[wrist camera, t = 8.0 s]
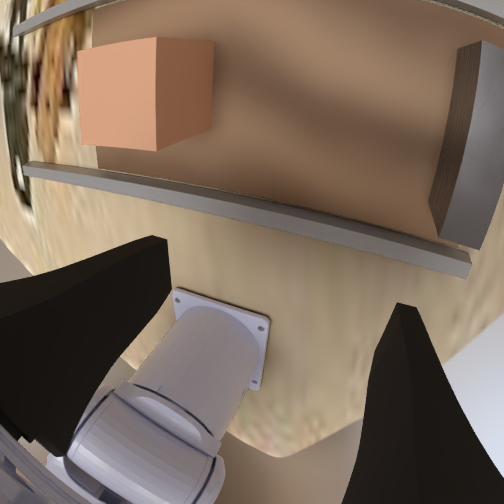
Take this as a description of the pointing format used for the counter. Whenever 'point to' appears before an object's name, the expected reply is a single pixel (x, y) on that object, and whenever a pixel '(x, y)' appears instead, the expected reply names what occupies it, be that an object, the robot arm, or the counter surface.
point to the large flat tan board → (337, 108)
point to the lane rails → (255, 210)
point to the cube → (145, 92)
